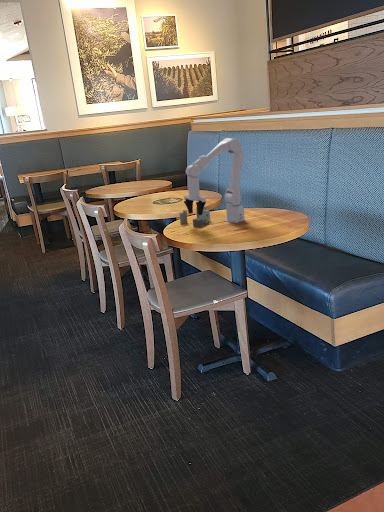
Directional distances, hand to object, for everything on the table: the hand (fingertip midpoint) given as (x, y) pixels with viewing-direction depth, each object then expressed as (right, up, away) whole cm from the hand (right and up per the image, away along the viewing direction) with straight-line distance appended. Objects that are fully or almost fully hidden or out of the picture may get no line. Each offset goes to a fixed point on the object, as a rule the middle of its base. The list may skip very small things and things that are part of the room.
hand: (195, 214), depth 238 cm
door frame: (-1, -2, +17) cm, 17 cm away
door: (+5, -2, +14) cm, 15 cm away
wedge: (+3, -6, +4) cm, 8 cm away
